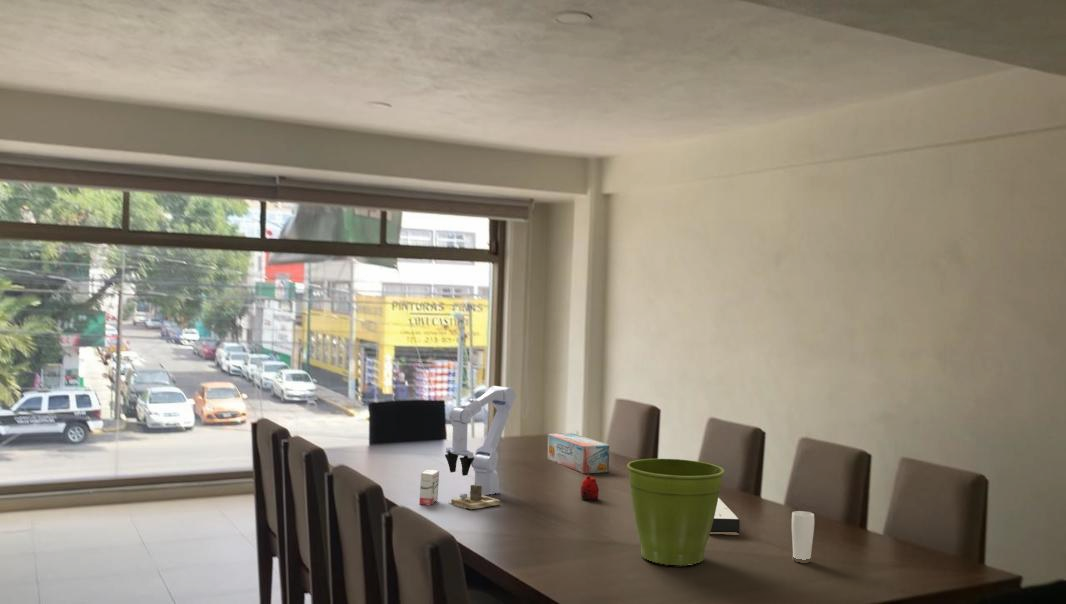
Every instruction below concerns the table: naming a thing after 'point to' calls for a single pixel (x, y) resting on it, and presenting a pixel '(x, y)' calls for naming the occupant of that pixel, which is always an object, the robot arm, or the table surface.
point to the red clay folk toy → (589, 488)
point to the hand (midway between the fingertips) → (458, 473)
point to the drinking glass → (802, 534)
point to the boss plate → (462, 497)
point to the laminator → (724, 519)
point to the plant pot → (674, 507)
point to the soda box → (578, 452)
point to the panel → (476, 503)
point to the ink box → (429, 487)
